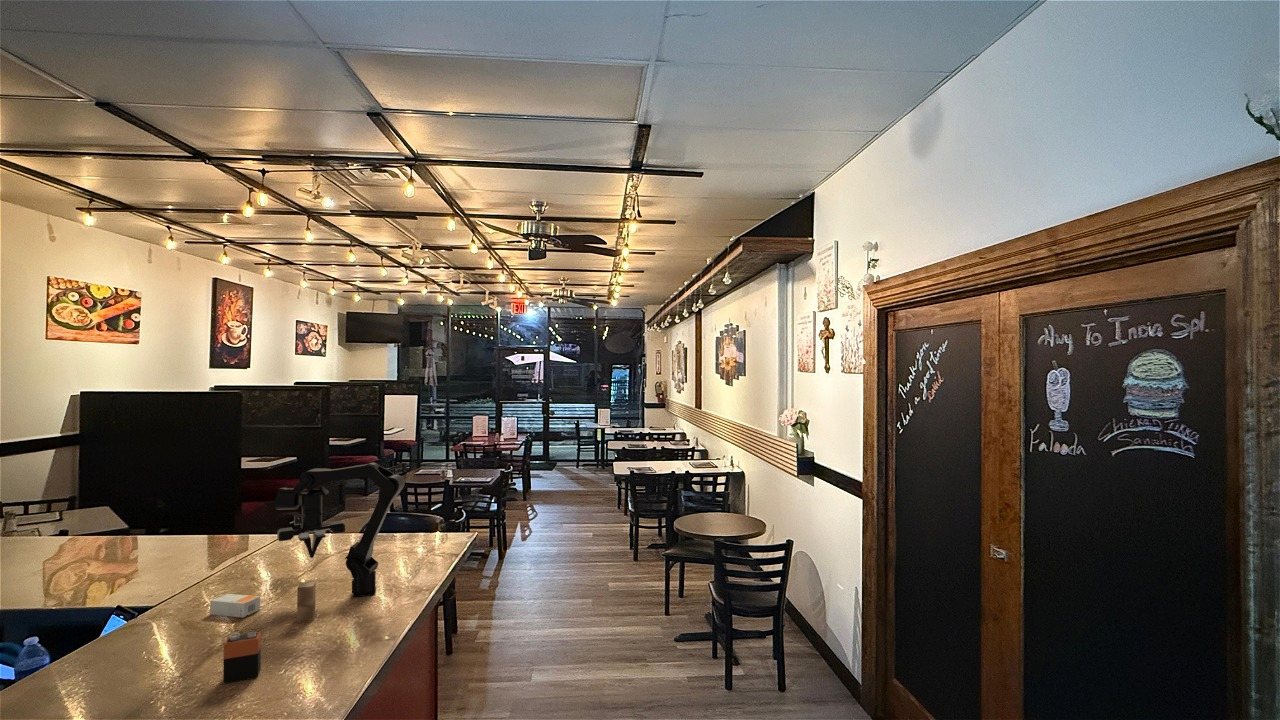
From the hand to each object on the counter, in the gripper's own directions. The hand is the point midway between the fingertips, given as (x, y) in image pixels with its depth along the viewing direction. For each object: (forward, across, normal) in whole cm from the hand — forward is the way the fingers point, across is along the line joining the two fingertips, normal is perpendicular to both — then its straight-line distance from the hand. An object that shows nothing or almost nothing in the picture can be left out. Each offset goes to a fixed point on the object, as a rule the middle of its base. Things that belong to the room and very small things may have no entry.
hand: (311, 557), depth 192 cm
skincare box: (+10, +16, +7) cm, 20 cm away
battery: (+12, +20, +49) cm, 55 cm away
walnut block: (+12, +4, +21) cm, 24 cm away
